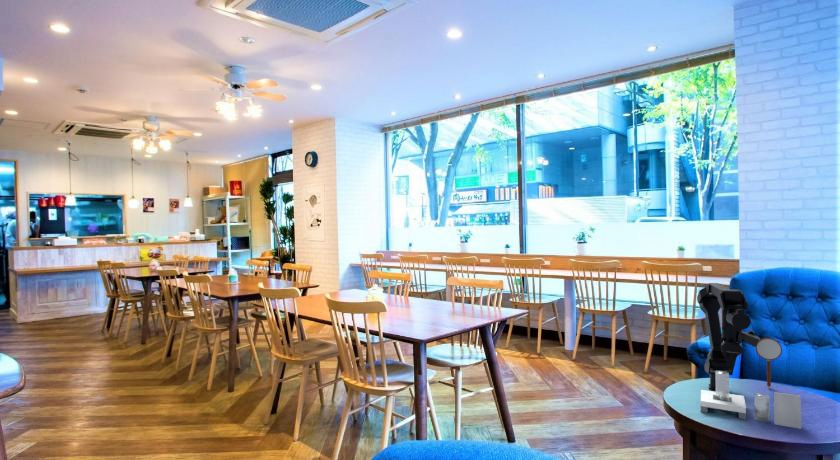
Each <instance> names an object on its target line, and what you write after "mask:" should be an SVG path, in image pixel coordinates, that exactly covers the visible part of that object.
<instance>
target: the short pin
mask: <svg viewBox="0 0 840 460" xmlns="http://www.w3.org/2000/svg"><path fill="white" fill-rule="evenodd" d="M753 395H754V398H753V399H754V419H755V420H756V421H758V422H763V423H769V422H770V395H768V394H765V393H758V392H757V393H754V394H753Z"/></svg>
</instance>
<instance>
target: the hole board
mask: <svg viewBox="0 0 840 460" xmlns="http://www.w3.org/2000/svg"><path fill="white" fill-rule="evenodd" d="M708 408H709V409H716V410H717V409H722V410H729V411H728V412H734V413H735V412H736V413H737V415H738V419H741V420H747V406H746V401H745V396H744V395H739V394H733V393H729V402H727V401H720V400H716V391H714V390H705V389H701V390H700V413H708V411H709V410H708Z"/></svg>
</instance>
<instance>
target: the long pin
mask: <svg viewBox="0 0 840 460" xmlns="http://www.w3.org/2000/svg"><path fill="white" fill-rule="evenodd" d="M715 374H716V390H715V392H716V400H720V401H727V402H729V394H730V375H729V373H728V372H726V371H715ZM717 411H721V412H730V411H729V410H722V409H718V410H717Z"/></svg>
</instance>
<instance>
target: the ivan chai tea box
mask: <svg viewBox="0 0 840 460" xmlns="http://www.w3.org/2000/svg"><path fill="white" fill-rule="evenodd" d="M801 399H802V398H801V395H800V394H799V395H798V394H792V393H785V392H784V393H783V392H780V391H779V392H777V391H774V392H773V423H774V425H777V426H783V427H789V428H792V429H794V428H795V429H799V430H802V423H803V422H802V400H801Z"/></svg>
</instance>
